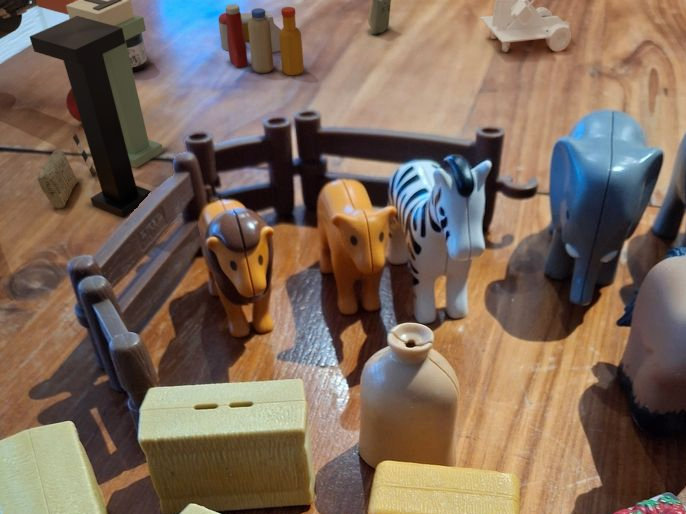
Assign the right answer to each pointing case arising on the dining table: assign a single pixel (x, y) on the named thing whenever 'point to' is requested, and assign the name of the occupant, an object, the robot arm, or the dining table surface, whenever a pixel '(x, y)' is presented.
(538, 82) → the dining table surface
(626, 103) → the dining table surface
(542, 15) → the catapult
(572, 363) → the dining table surface
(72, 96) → the onion
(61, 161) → the cuneiform tablet
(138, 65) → the ink bottle
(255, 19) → the toy food
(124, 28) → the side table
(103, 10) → the beige flat block
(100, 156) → the tall stand
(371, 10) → the olive upright narrow post
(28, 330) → the dining table surface
